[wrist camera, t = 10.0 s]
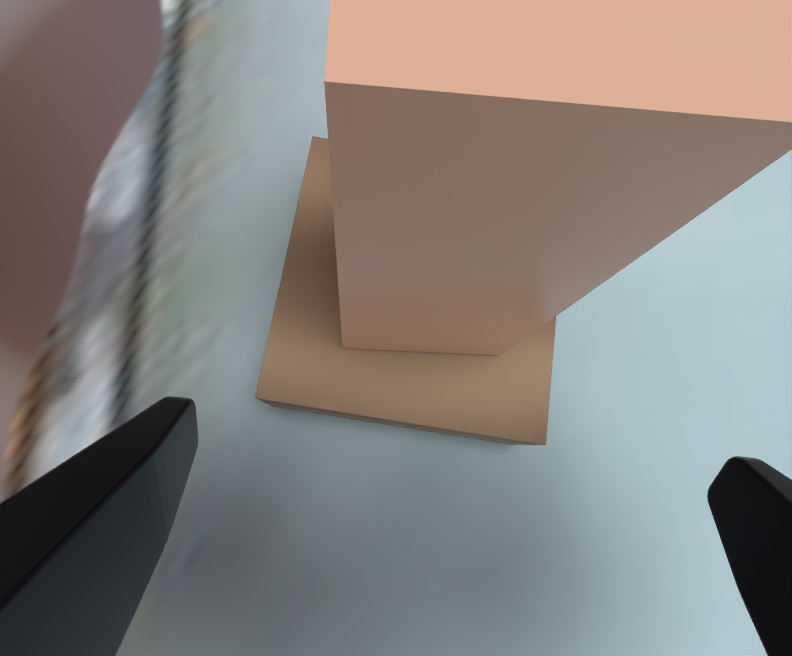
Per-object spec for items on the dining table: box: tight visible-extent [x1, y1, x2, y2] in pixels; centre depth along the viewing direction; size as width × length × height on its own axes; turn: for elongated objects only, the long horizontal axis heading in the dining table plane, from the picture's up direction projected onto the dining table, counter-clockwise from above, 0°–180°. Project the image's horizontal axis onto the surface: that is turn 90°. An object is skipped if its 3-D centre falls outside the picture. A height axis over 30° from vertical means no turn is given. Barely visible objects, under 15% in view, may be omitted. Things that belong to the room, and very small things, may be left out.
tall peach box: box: [324, 0, 792, 356], centre depth 12 cm, size 6×6×12 cm
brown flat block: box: [255, 136, 556, 445], centre depth 20 cm, size 10×10×4 cm
